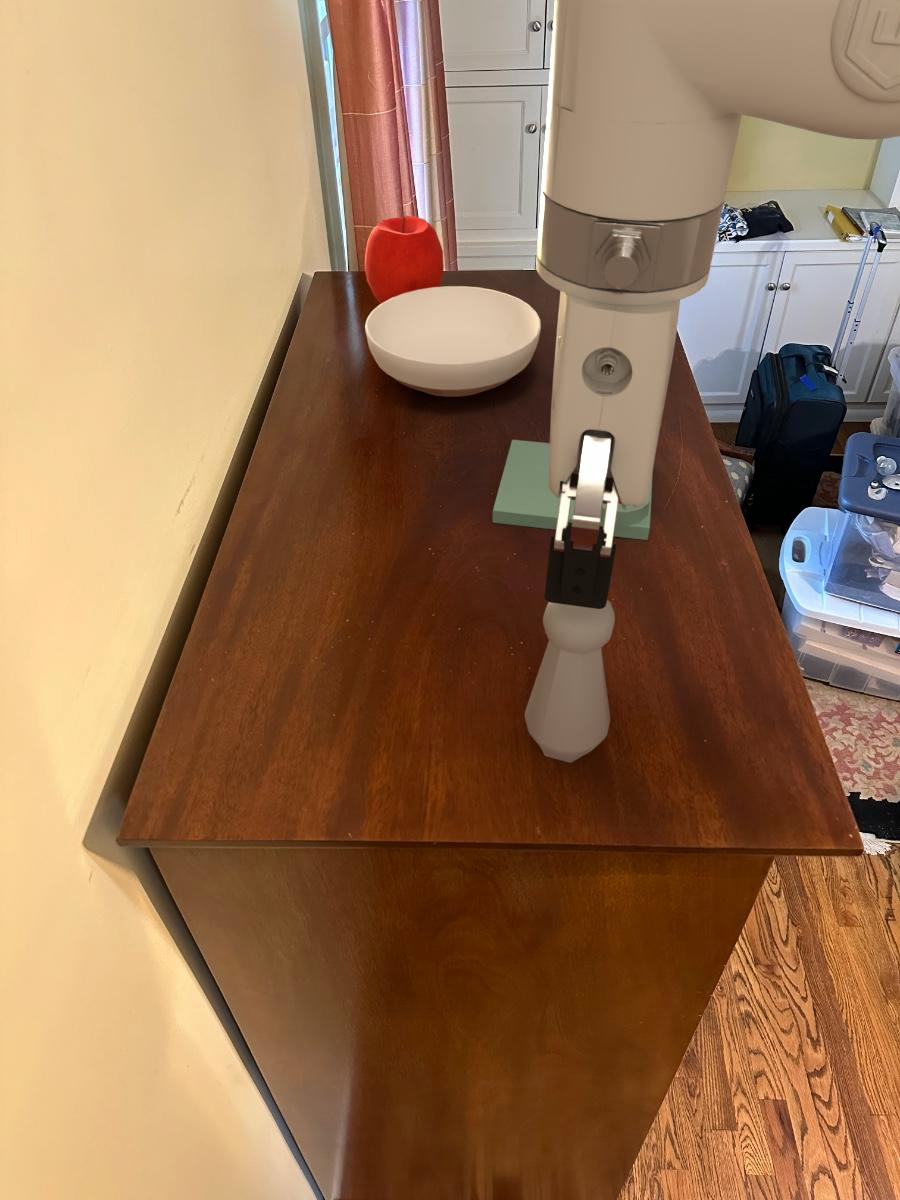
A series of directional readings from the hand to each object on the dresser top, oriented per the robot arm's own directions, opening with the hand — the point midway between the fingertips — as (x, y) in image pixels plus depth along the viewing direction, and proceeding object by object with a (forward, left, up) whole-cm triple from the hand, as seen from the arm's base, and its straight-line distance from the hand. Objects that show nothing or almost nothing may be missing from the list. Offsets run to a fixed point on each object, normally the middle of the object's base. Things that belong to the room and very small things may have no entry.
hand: (583, 544), depth 49 cm
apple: (+27, -64, -18) cm, 72 cm away
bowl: (+18, -50, -18) cm, 56 cm away
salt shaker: (0, 0, -18) cm, 18 cm away
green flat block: (+2, -29, -18) cm, 34 cm away
